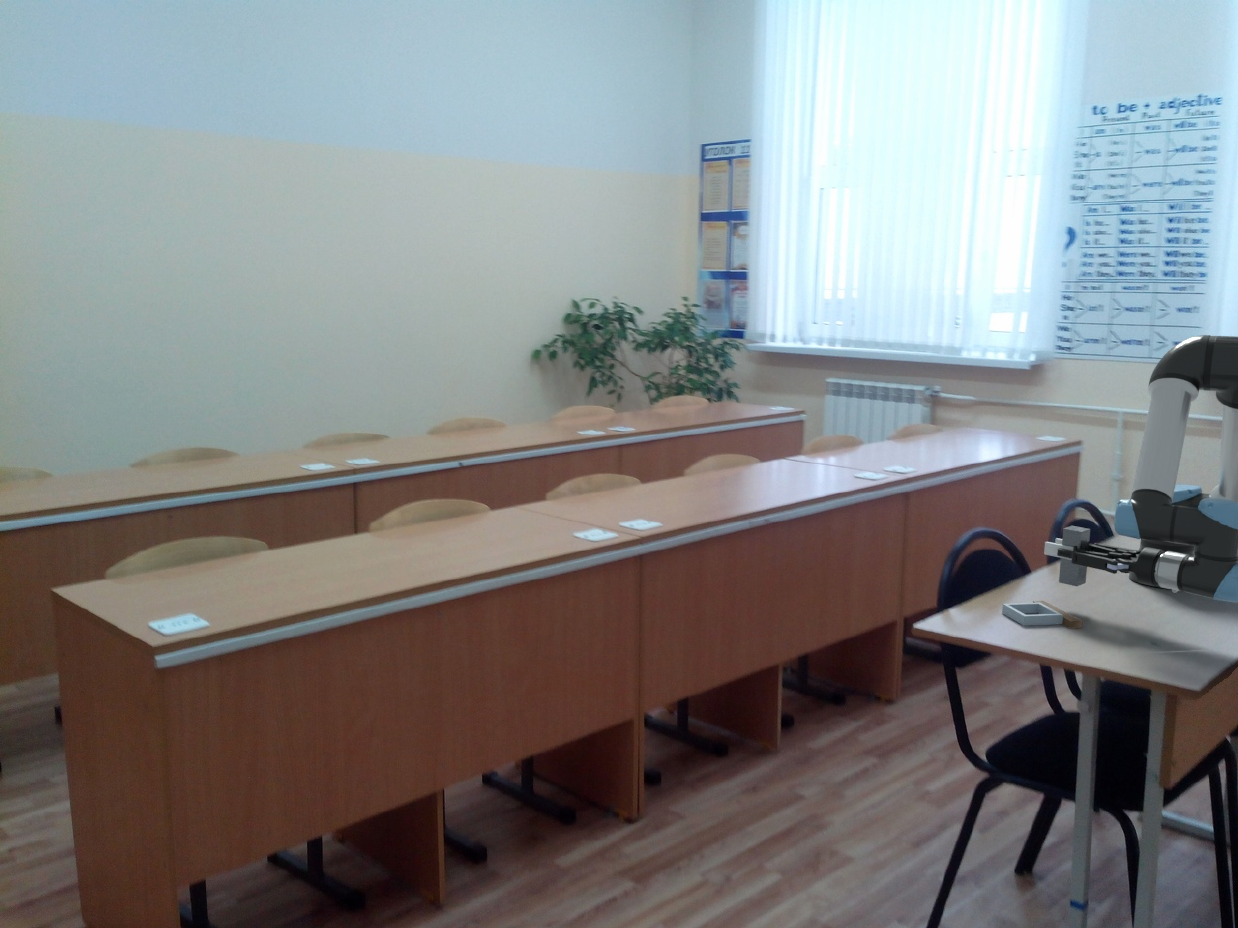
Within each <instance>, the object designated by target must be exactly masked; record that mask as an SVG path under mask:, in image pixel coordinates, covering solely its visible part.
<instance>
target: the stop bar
mask: <svg viewBox="0 0 1238 928" xmlns="http://www.w3.org/2000/svg"><path fill="white" fill-rule="evenodd" d="M1090 537H1091V528H1085V527H1081V526H1075V525H1070V526H1066V527H1063V529H1062V538H1061V539H1062V545H1066V546H1071V547H1074V546H1077V549H1078V550H1085V551H1088V550H1089V544H1090V539H1091V538H1090ZM1071 561H1072V560H1069V559H1064V558H1060V565H1059V574H1058V575H1059V577H1058V583H1059V584H1065V585H1068V586H1072V587H1073V586H1074V587H1080V586H1082V585H1084V584H1086V583H1087V582H1086V581H1087V571H1088V567H1086V566H1082V565H1077V564H1073V563H1071Z"/></svg>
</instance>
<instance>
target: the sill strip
mask: <svg viewBox="0 0 1238 928" xmlns="http://www.w3.org/2000/svg"><path fill="white" fill-rule="evenodd" d="M1032 603H1042V604H1044V605H1045V606H1047V607H1049V608H1051V609H1053V610H1055V611H1057V612H1059V613H1061V614H1063V621H1062V624H1061V625H1064V626H1066V627H1067V628H1068V629H1080V628H1082V623H1083V620H1081V619H1079V618H1078V617H1076V616H1073V615H1072V614H1070V613H1068V612H1067V611H1064V610H1062V609H1061V608H1058V607H1056V606H1054V605H1053V604H1050V603H1048V602H1047V601H1045V600H1033V601H1032Z"/></svg>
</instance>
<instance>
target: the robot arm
mask: <svg viewBox="0 0 1238 928" xmlns="http://www.w3.org/2000/svg"><path fill="white" fill-rule="evenodd" d="M1200 391H1207V392H1208V391H1209V392H1215V399H1216V401H1217V402H1218V403H1219V404H1220V405H1222V406H1223V407H1222V421H1221V437H1220V438H1221V439H1220V440H1221V441H1220V456H1219V469H1218V470H1219V472H1218V473H1219V474H1218V484H1217V485H1216V486H1214V487H1213V489H1211V491H1210V493H1203V490H1202V487H1201V486H1199V485H1192V484H1176V483H1177V479H1178V475H1179V474H1178V473H1179V468H1180V462H1181V458H1182V452H1183V448H1184V442H1185V437H1186V433H1187V431H1186V430H1187V427H1188V420H1189V415H1190V409H1191V406H1192V405H1191V404H1192V402H1194V401H1196V400H1197V398H1198V397H1199V392H1200ZM1147 393H1148V395H1149V396H1150V398H1151V399H1150V402H1149V403H1150V404H1149V407H1148V412H1147V418H1146V422H1145V426H1144V430H1143V431H1144V432H1143V435H1142V441H1141V447H1140V450H1139V456H1138V461H1137V465H1136V466H1137V467H1136V470H1135V474H1134V480H1133V484H1132V489H1131V496H1130V498H1127V499H1120V500H1118V502H1117V505H1116V507H1115V508H1116V509H1115V513H1114V520H1113V522H1114V525H1113V526H1114V531H1115V533H1116V534H1118V535H1119V536H1123V537H1126V538H1132V539H1137V540H1140V543H1139V544H1140V545H1139V547H1138V549H1131V548H1126V547H1120V546H1113V545H1110V544H1109V545H1108V544H1104V543H1098V542H1094V544H1093V543H1089V550H1088V551H1085V550H1078V549H1077V546H1074V547H1071V546H1066V545H1062V538H1058V537H1056V538H1055V542H1051V541H1044V549H1043V550H1044V552H1043V554H1044V555H1046V556H1051V557H1056V558H1060V559H1061V558H1064V559H1069V560H1072V561H1071V563H1073V564H1077V565H1082V566H1086V567H1087V568H1091V569H1095V570H1099V571H1100V570H1101V571H1106V572H1108V573H1111V574H1112V575H1113V574H1117V573H1118V572H1121V573H1123V574H1128V577H1129V579H1130V580H1131V581H1134V582H1136V583H1139V584H1140V585H1141V584H1142V585H1146V586H1149V587H1153V588H1154V587H1155V588H1161V589H1168V590H1171V591H1172V593H1174V594H1175V593H1178V592H1181V593H1187V594H1191V595H1195V596H1199V597H1203V598H1209V599H1211V600H1215V601H1223V602H1227V603H1228V602H1229V603H1237V604H1238V336H1232V335H1230V336H1229V335H1228V336H1227V335H1211V334H1210V335H1209V334H1203V335H1202V334H1201V335H1196V336H1191V337H1189V338H1186V339H1184V340H1182V341H1181V342H1178V343H1177V344H1176V345H1174V346H1173V347H1172V348H1170V349H1169V350H1168V351H1167V352H1166V353H1164V355H1163V356H1162V357H1161V358H1160V360H1159V361H1158V362H1157V364H1156V365H1155V366H1154V368H1153V370H1152V373H1151V374H1150V378H1149V382H1148V387H1147Z"/></svg>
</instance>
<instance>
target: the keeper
mask: <svg viewBox="0 0 1238 928" xmlns="http://www.w3.org/2000/svg"><path fill="white" fill-rule="evenodd" d="M1001 611H1002V612H1001V613H1002V615H1005V616H1006V617H1009V618H1010V619H1012V620H1014V621H1015V622H1017V623H1018V624H1020V625H1022V626H1025V627H1026V626H1046V625H1047V626H1051V625H1063V624H1062V621H1063V614H1061V613H1059V612H1057V611H1055V610H1053V609H1051V608H1049V607H1047V606H1045V605H1044V604H1042V603H1033V602H1021V603H1020V602H1019V603H1017V602H1016V603H1002V608H1001Z"/></svg>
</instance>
